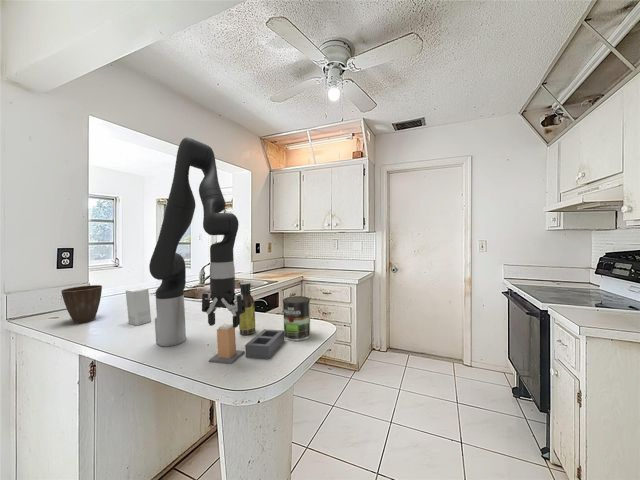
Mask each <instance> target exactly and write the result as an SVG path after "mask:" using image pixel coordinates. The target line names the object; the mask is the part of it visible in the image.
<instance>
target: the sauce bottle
mask: <svg viewBox="0 0 640 480" xmlns="http://www.w3.org/2000/svg"><path fill="white" fill-rule="evenodd" d="M239 288H240V294H244V300H245V312H244V313H242V314H240V324H239V325H238V327H239V334H240V335H243V336H248V335H251V334H254V333H255V332H256V313H255V312H256V311H255V309H256V308H255V299H254V298H253V296H252V294H251V283H250V282H241V283H239Z"/></svg>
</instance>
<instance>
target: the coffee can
mask: <svg viewBox="0 0 640 480" xmlns="http://www.w3.org/2000/svg"><path fill="white" fill-rule="evenodd" d="M310 301H311V299H310V297H308V296H303V295H301V296H300V295H293V296H289V297H284V298H283V299H282V307H283V308H282V309H283V330H284V337H285V339H286V340H287V341H293V342H297V341H298V342H299V341H304V340H307V339H309V338H311V336H312V335H311V309H310V308H311V304H310Z"/></svg>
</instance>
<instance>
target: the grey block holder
mask: <svg viewBox="0 0 640 480" xmlns="http://www.w3.org/2000/svg"><path fill="white" fill-rule="evenodd" d="M285 341H286V340H285V337H284V329H283V330H281V329H266V328H265V329H263V330H261V331H260V332H259V333H258V334H256V335H255V336H254V337H253V338H252V339H250V340H249V341H248V342H247V343H246V344H245V345H244V351H245V358H251V359H253V358H254V359H255V358H256V359H265V360H269V359H271V357H273V355H274V354H275V353H276V352H277V350H279V348H280V347H281V346H282V345H283V344H284V343H285Z"/></svg>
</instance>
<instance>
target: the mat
mask: <svg viewBox="0 0 640 480" xmlns="http://www.w3.org/2000/svg"><path fill="white" fill-rule="evenodd" d="M244 354H246V350H240V349H236V353H235V354H234V355H233V356H232V357H230V358H220V357H218V352H217V353H216V354H215V355H214V356H212V357H211V358H209V359H208V363H219V364H230V365H232V364H233V363H235V362H236V361H237V360H238V359H239V358H241V357H242V356H243V355H244Z"/></svg>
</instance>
